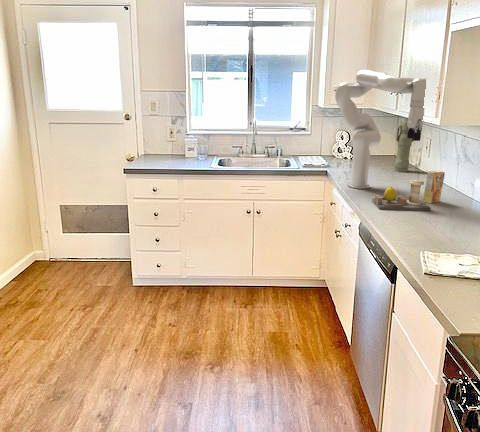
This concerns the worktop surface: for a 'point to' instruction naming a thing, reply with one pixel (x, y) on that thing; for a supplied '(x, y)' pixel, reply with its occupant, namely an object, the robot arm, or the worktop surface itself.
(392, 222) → the worktop surface
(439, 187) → the candy box
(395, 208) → the board
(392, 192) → the lemon
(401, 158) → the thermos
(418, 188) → the bobbin
